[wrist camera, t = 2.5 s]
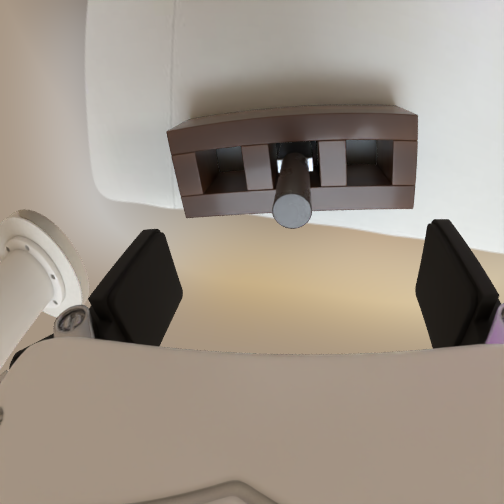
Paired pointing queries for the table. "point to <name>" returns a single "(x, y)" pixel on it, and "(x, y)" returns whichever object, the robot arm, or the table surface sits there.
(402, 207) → the utensil block
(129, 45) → the table surface
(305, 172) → the grey handled tool
